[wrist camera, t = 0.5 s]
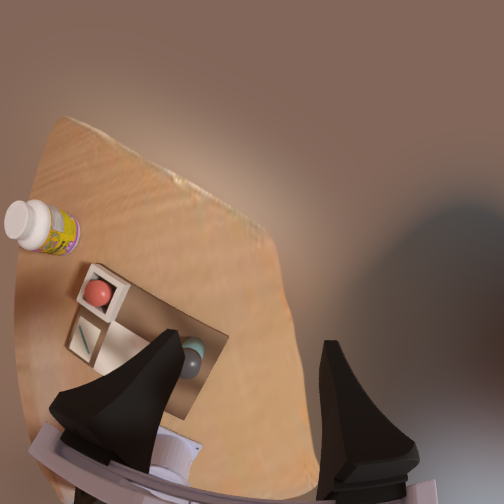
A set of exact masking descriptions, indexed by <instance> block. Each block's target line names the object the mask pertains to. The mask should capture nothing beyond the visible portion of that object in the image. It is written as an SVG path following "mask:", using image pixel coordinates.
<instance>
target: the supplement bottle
mask: <svg viewBox="0 0 504 504" xmlns="http://www.w3.org/2000/svg"><path fill="white" fill-rule="evenodd" d="M4 227H5V232H6V234H7V236H8V237H9V238H11V239H14V240H17V242H18V244H19V245H20V246H21V247H22V248H24V249H26V250H30V251H36V252H42V253H48V254H54V255H61V256H63V255H67V254H69V253H71V252H72V251H73V250H74V249H75V247H76V246H77V244H78V241H79V237H80V227H79V223H78V221H77V220H76V218H75V217H74V216H73V215H71V214H69V213H67V212H65V211H62V210H60V209H58V208H56V207H53V206H51V205H49V204H47V203H45V202H43V201H40V200H36V199H34V200H30V201H28V202H23V201H15V202H14V203H12V204H11V206H10V207H9V208H8V210H7V213H6V216H5V221H4Z"/></svg>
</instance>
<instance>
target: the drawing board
mask: <svg viewBox="0 0 504 504" xmlns="http://www.w3.org/2000/svg"><path fill="white" fill-rule="evenodd" d="M99 264H100V263H99ZM100 265H101V266H103V267H104V268H106V269H107V270H109V271H110V272H112V273H113V274H115V275H117V276H118V277H120V278H121V279H123V280H124V281H126V282H128V283H129V284H131V286H130V288H129V290H128V292H127V294H126V296H125V299H124V301H123V303H122V305H121V308H120V310H119V312H118V314H117V317H116V319H115V321H112V322H109V323H107V322H106V321H104V320H103V319H101V318H100V317H98V316H97V315H95V314H94V313H93V312H91V311H90V310H88V309H87V308H86V307H84V306H83V305H81V308H80V310H79V313H78V316H77V318H76V321H75V324H74V327H73V330H72V333H71V336H70V339H69V342H68V345H67V348H66V349H67V350H69V351H70V352H71V353H73V354H74V355H75V356H77V357H78V358H79V359H81V360H82V361H83V362H85V363H86V364H88V365H89V366H90V367H92V368H93V369H94V370H96V371H97V372H98V373H100V374H101V375H103V376H104V375H106V374H108V373H110V372H112V371H113V370H115V369H116V368H118V367H120V366H121V365H123V364H124V363H125V362H127V361H128V360H129V359H131V358H132V357H133V356H135V355H136V354H137V353H139V352H140V351H141V350H142V349H144V348H145V347H146V346H147V345H148V344H150V343H151V342H152V341H153V340H154V339H155V338H157V337H158V336H159V335H160V334H161V333H162V332H164V331H165V330H166V329H174V330H178V333H179V336H180V340H181V344H182V345H183V343H184V342H185V340H186V339H188V338H190V337H197V338H199V339H201V340H202V341H203V343H204V345H205V352H204V355H203V358H202V364H201V368H200V371H199V373H198V375H197V376H196V377H194V378H192V379H182V378H179V379H178V381H177V383H176V385H175V388H174V390H173V392H172V394H171V396H170V398H169V401H168V403H167V405H166V407H165V410H164V411H165V412H167V413H169V414H171V415H173V416H176V417H178V418H180V419H182V420H185V418H186V416H187V414H188V412H189V411H190V409H191V407H192V405H193V403H194V401H195V400H196V398H197V396H198V394H199V392H200V390H201V389H202V387H203V385H204V383H205V381H206V379H207V378H208V376H209V374H210V372H211V370H212V368H213V366H214V365H215V363H216V361H217V359H218V357H219V355H220V353H221V351H222V350H223V348H224V346H225V344H226V342H227V340H228V338H229V336H228V335H226V334H224V333H222V332H220V331H218V330H216V329H214V328H212V327H210V326H208V325H206V324H204V323H202V322H200V321H199V320H197V319H195V318H193V317H191V316H189V315H187V314H185V313H184V312H182V311H180V310H178V309H176V308H174V307H173V306H171V305H169V304H167V303H166V302H164V301H162V300H160V299H159V298H157V297H155V296H153V295H152V294H150V293H148V292H147V291H145V290H143V289H142V288H140V287H138V286H137V285H135V284H133V283H132V282H130V281H128V280H127V279H125V278H124V277H122V276H120V275H119V274H117V273H116V272H114V271H112V270H111V269H109V268H108V267H106V266H105V265H103V264H100ZM98 280H104V281H106V282H108V281H107V280H105V279H104V278H102V277H101V276H99V278H98ZM108 283H109V284H110V286H111V288H112V291H113V296H114V293H115V291H116V289H117V287H116V286H114V285H113V284H111V283H110V282H108ZM113 296H112V298H113ZM111 300H112V299H111ZM110 302H111V301H110ZM110 302H109V303H108V304H107V305H103V307H105V308H106V309H108V307H109V305H110Z"/></svg>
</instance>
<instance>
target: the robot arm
mask: <svg viewBox="0 0 504 504" xmlns="http://www.w3.org/2000/svg"><path fill="white" fill-rule="evenodd" d="M184 361H185V354H184V350H183V347H182V344H181V340H180V336H179V333H178V330H174V329H166V330H165V331H164V332H162V333H161V334H160V335H159V336H158V337H157V338H155V339H154V340H153V341H152V342H151V343H150V344H148V345H147V346H146V347H145V348H144V349H142V350H141V351H140V352H139V353H137V354H136V355H135V356H133V357H132V358H131V359H129V360H128V361H127V362H125V363H124V364H123V365H121V366H120V367H118V368H116V369H115V370H113V371H112V372H110V373H108V374H106V375H104V376H102V377H100V378H98V379H96V380H94V381H92V382H90V383H87V384H85V385H82V386H80V387H77V388H73V389H70V390H66V391H63V392H59V394H58V395H57V396H56V398H55V399H54V401H53V402H52V404H51V405H50V407H49V411H50V413H51V414H52V416H53V417H54V418H55V419H56V420H57V421H58V422H59V423H60V424H61V425H62V426H63V427H64V428H65V431H64V432H62V431H60V430H59V429H58V428H56V427H54V426H53V425H51V424H49V423H48V422H45V423H44V425H43V426H42V428H41V429H40V431H39V433H38V434H37V436H36V438H35V439H34V441H33V442H32V444H31V446H30V447H29V449H28V453H29V454H30V455H32V456H33V457H34V458H36V459H37V460H38V461H39V462H41V463H42V464H43V465H45V466H46V467H48V468H49V469H50V470H52V471H53V472H55V473H56V474H58V475H59V476H61V477H62V478H64V479H65V480H67V481H68V482H70V483H71V484H73V485H75V486H76V487H78V488H80V489H81V490H83V491H85V492H86V493H88V494H90V495H92V496H94V497H96V498H97V499H99V500H101V501H103V502H105V503H107V504H198V503H199V504H438V499H437V490H436V483H435V479H431V480H428V481H424V482H420V483H416V484H413V485H410V486H407V487H406V484H405V482H406V481H407V480H408V476H407V473H408V472H410V471H411V470H412V469H413V468H414V467H416V466H417V465H418V463H419V461H420V459H419V453H418V450H417V447H416V444H415V442H414V441H413V440H411V439H410V438H409V437H407V436H406V435H405V434H404V433H402V432H401V431H400V430H399V429H398V428H397V427H395V425H393V424H392V423H391V422H390V421H389V420H388V419H387V417H386V416H385V415H384V414H383V413H382V412H381V411H380V410H379V409H378V408H377V407H376V405H375V404H374V403H373V402H372V400H371V399H370V398H369V396H368V395H367V393H366V392H365V391H364V389H363V388H362V386H361V385H360V383H359V381H358V380H357V378H356V376H355V375H354V373H353V371H352V369H351V368H350V366H349V364H348V362H347V360H346V358H345V356H344V353H343V352H342V349H341V346H340V344H339V342H338V341H337V340H325V341H324V345H323V351H322V357H321V362H320V368H319V393H320V404H321V416H322V448H321V462H320V472H319V481H318V489H317V496H316V501H283V500H267V499H256V498H247V497H240V496H233V495H227V494H221V493H215V492H210V491H205V490H201V489H196V488H192V487H190V485H191V483H189V482H188V477H189V472H190V466H191V463H192V462H193V460H194V459H195V457H196V456H197V454H198V452H199V451H200V449H201V448H202V445H201V444H200V443H197V442H195V441H193V440H190V439H188V438H186V437H183V436H181V435H179V434H177V433H174V432H172V431H170V430H168V429H166V428H164V427H162V426H160V422H161V418H162V415H163V412H164V410H165V407H166V405H167V403H168V401H169V398H170V396H171V394H172V392H173V390H174V388H175V385H176V383H177V381H178V379H179V376H180V374H181V371H182V368H183V364H184ZM197 448H198V449H197Z"/></svg>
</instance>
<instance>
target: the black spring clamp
mask: <svg viewBox="0 0 504 504" xmlns="http://www.w3.org/2000/svg"><path fill="white" fill-rule="evenodd" d="M74 504H107V503H105V502H103V501H101V500H99V499H97V498H96V497H94V496H92V495H90V494H88V493H86V492H85V491H83V490H81V489H80V488H78V487H76V489H75V498H74Z"/></svg>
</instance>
